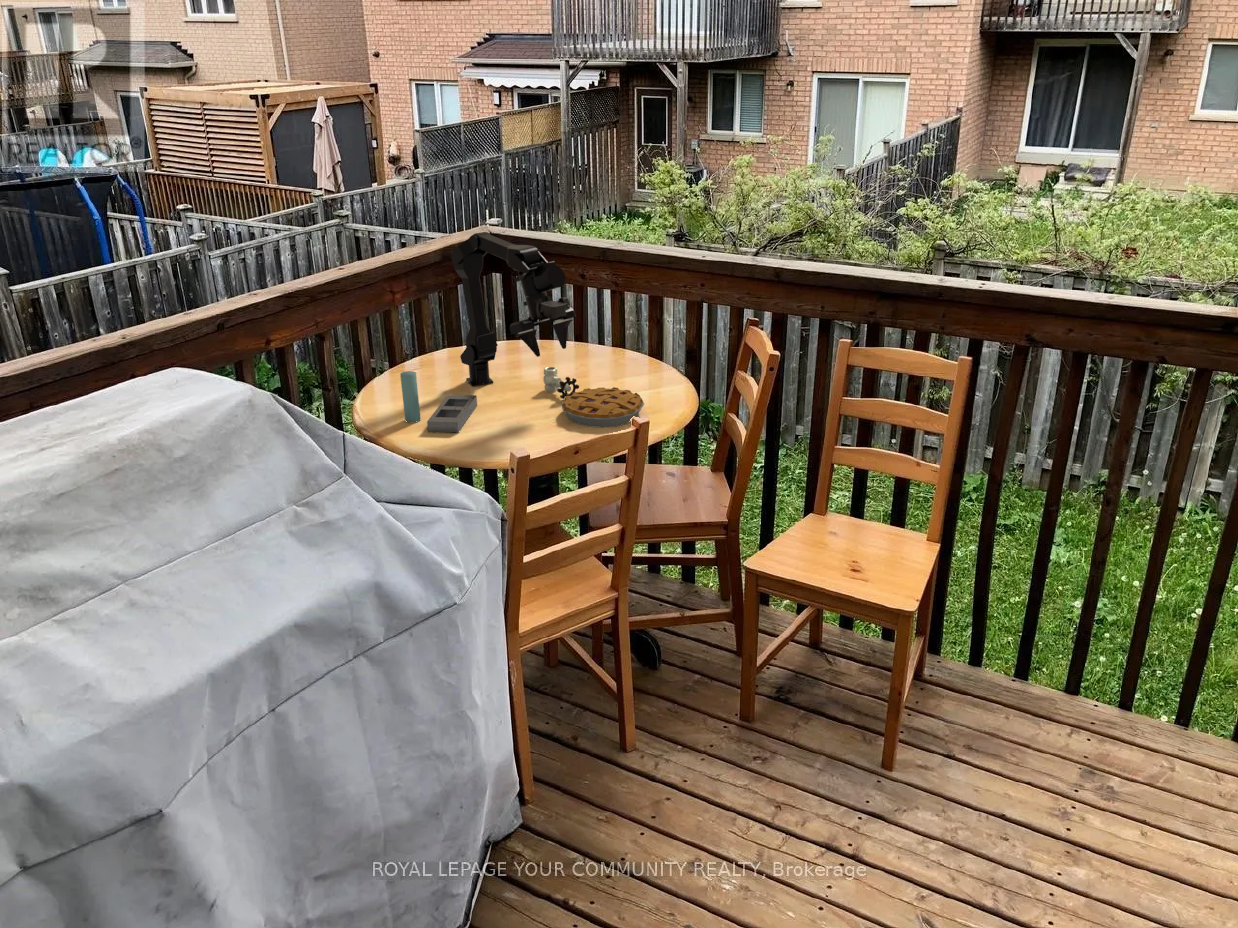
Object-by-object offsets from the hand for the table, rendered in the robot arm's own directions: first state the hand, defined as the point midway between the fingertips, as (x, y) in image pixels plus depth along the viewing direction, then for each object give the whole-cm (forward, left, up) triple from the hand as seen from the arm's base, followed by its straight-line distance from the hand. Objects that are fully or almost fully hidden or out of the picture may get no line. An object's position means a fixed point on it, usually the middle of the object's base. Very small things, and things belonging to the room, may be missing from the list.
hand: (551, 352), depth 264 cm
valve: (-10, +5, -16) cm, 20 cm away
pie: (+10, +10, -16) cm, 22 cm away
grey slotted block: (-4, -27, -16) cm, 31 cm away
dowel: (-8, -37, -16) cm, 41 cm away
